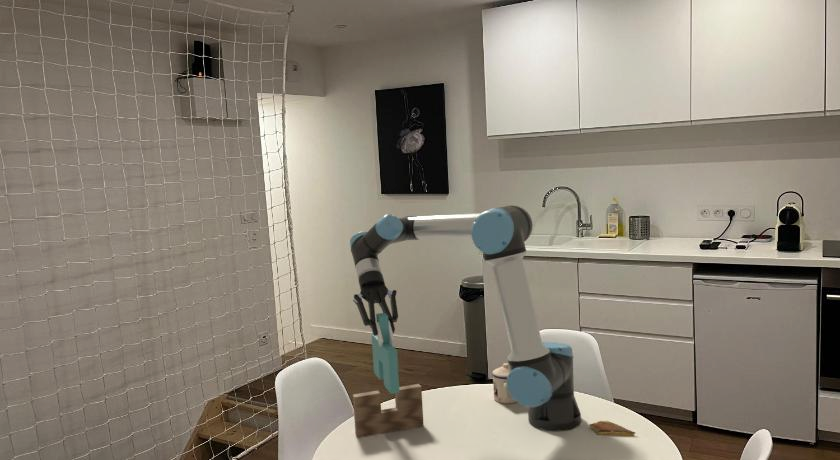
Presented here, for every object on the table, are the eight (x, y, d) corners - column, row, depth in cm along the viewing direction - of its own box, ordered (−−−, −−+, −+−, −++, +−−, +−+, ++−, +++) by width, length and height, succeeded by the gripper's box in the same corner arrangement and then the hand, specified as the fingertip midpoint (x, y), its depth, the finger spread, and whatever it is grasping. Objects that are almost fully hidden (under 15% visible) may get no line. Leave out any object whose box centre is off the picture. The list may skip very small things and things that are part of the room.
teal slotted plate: (373, 372, 191) (370, 308, 189) (381, 371, 192) (378, 307, 190) (390, 394, 172) (386, 323, 170) (399, 392, 173) (395, 321, 171)
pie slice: (635, 437, 171) (635, 431, 170) (615, 445, 167) (615, 438, 167) (606, 424, 180) (605, 418, 180) (586, 431, 176) (586, 425, 176)
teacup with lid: (494, 393, 208) (492, 359, 207) (522, 394, 206) (520, 359, 205) (491, 407, 196) (490, 371, 195) (521, 408, 195) (519, 371, 193)
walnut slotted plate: (421, 422, 188) (418, 383, 186) (423, 425, 185) (421, 386, 184) (355, 434, 182) (352, 394, 181) (357, 437, 179) (354, 397, 178)
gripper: (393, 281, 196) (411, 346, 182) (343, 286, 192) (358, 353, 178) (396, 266, 191) (415, 333, 177) (346, 271, 186) (361, 340, 172)
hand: (387, 343), depth 177 cm, fingers closed on teal slotted plate, 2 cm apart
